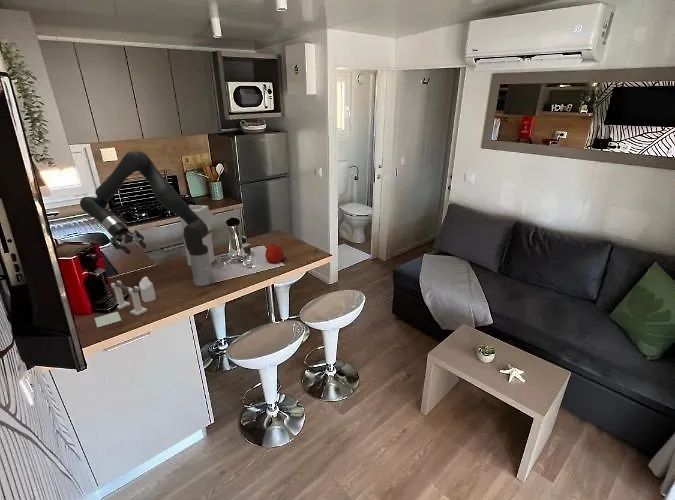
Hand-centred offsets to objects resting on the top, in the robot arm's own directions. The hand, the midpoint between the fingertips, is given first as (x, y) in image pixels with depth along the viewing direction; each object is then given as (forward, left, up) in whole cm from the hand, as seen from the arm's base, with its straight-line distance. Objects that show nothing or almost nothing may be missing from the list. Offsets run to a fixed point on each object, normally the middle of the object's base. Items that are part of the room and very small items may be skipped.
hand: (137, 250), depth 171 cm
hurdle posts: (-2, +16, -23) cm, 28 cm away
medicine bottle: (-31, -52, -23) cm, 65 cm away
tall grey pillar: (-13, -34, -23) cm, 43 cm away
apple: (-53, -46, -23) cm, 74 cm away
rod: (-2, +16, -12) cm, 20 cm away
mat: (+2, +26, -23) cm, 35 cm away
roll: (-5, +6, -23) cm, 25 cm away
